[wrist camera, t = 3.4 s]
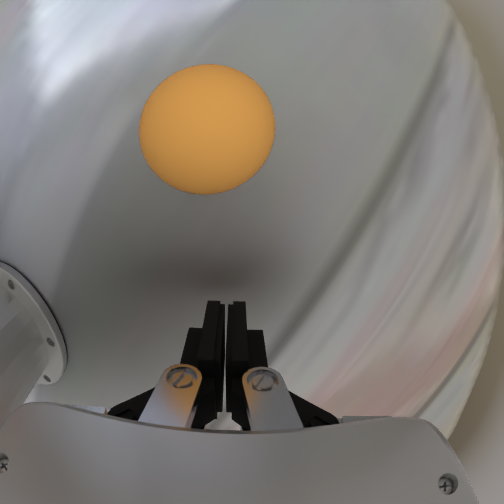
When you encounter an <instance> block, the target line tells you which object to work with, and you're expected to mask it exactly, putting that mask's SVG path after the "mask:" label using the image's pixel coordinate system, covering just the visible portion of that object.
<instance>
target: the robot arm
mask: <svg viewBox="0 0 504 504" xmlns="http://www.w3.org/2000/svg"><path fill="white" fill-rule="evenodd" d="M224 364H225V304H220V301H208V302H207V307H206V313H205V318H204V323H203V328H189V330H188V334H187V338H186V342H185V346H184V350H183V354H182V358H181V362H180V364H177V365H173V366H170V367H169V368H167V369H166V370H165V371H164V372H163V374H162V376H161V378H160V380H159V382H158V383H157V385H156V387H155V388H153V389H151V390H148V391H146V392H144V393H142V394H140V395H138V396H136V397H134V398H131V399H129V400H127V401H125V402H123V403H120V404H118V405H116V406H114V407H113V408H111V409H110V410H106V408H105V407H91V406H77V405H66V404H59V403H51V402H31V403H26V404H24V402H25V400H26V399H27V397H28V395H29V394H30V392H31V391H32V389H33V387H34V386H35V384H40V385H50V384H54V383H55V382H57V381H58V380H59V379H60V377H61V376H62V374H63V373H64V371H65V368H66V365H67V354H66V347H65V344H64V340H63V337H62V334H61V332H60V330H59V327H58V325H57V323H56V321H55V319H54V317H53V315H52V314H51V312H50V310H49V308H48V307H47V305H46V304H45V302H44V301H43V299H42V298H41V296H40V295H39V294H38V293H37V291H36V290H35V289H34V288H33V286H32V285H31V284H30V283H29V282H28V281H27V280H26V279H25V278H24V277H23V276H22V275H21V274H20V273H18V272H17V271H16V270H15V269H13V268H12V267H10V266H8V265H7V264H5V263H3V262H0V504H479V502H478V500H477V497H476V495H475V493H474V490H473V488H472V486H471V484H470V482H469V479H468V478H467V476H466V473H465V471H464V469H463V467H462V465H461V463H460V461H459V459H458V458H457V456H456V454H455V452H454V451H453V449H452V447H451V446H450V444H449V443H448V441H447V440H446V438H445V437H444V436H443V434H442V433H441V432H440V431H439V430H438V429H437V428H436V427H435V426H434V425H433V424H432V423H430V422H428V421H426V420H423V419H419V418H413V417H392V416H343V417H342V419H340V418H336V417H335V416H334V415H332V414H331V413H329V412H327V411H325V410H323V409H321V408H319V407H317V406H315V405H313V404H312V403H310V402H308V401H306V400H304V399H302V398H301V397H299V396H297V395H295V394H293V393H292V392H290V391H288V389H287V387H286V384H285V382H284V380H283V377H282V376H281V374H280V373H279V372H277V371H276V370H274V369H272V368H268V364H267V357H266V350H265V343H264V336H263V330H247V322H246V303H245V302H239V301H233V304H229V305H228V322H227V340H226V412H232V420H234V421H235V422H236V423H238V424H239V425H240V426H241V431H234V430H209V429H207V424H208V423H209V422H211V421H212V420H214V419H217V412H222V408H223V385H224Z"/></svg>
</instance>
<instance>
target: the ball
mask: <svg viewBox="0 0 504 504" xmlns="http://www.w3.org/2000/svg"><path fill="white" fill-rule="evenodd" d="M274 136H275V118H274V112H273V109H272V106H271V103H270V101H269V99H268V97H267V95H266V94H265V92H264V91H263V89H262V88H261V87H260V86H259V85H258V84H257V83H256V82H255V81H254V80H253V79H252V78H250V77H249V76H247V75H246V74H244V73H242V72H240V71H238V70H236V69H234V68H230V67H227V66H223V65H215V64H204V65H197V66H192V67H188V68H185V69H183V70H180V71H178V72H176V73H174V74H173V75H171V76H169V77H168V78H167V79H165V80H164V81H163V82H162V83H161V84H160V85H159V86H158V87H157V88H156V89H155V90H154V91H153V93H152V94H151V95H150V97H149V98H148V100H147V102H146V104H145V106H144V109H143V111H142V115H141V118H140V125H139V139H140V146H141V149H142V152H143V155H144V157H145V159H146V161H147V163H148V165H149V166H150V168H151V169H152V170H153V171H154V172H155V174H156V175H157V176H159V177H160V178H161V179H162V180H163V181H164V182H166V183H167V184H169V185H170V186H172V187H174V188H176V189H179V190H182V191H184V192H188V193H193V194H215V193H221V192H224V191H228V190H231V189H233V188H235V187H237V186H239V185H241V184H242V183H244V182H246V181H247V180H248V179H250V178H251V177H252V176H253V175H254V174H255V173H256V172H257V171H258V170H259V169H260V168H261V166H262V165H263V164H264V162H265V161H266V159H267V157H268V155H269V153H270V151H271V148H272V145H273V141H274Z"/></svg>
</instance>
